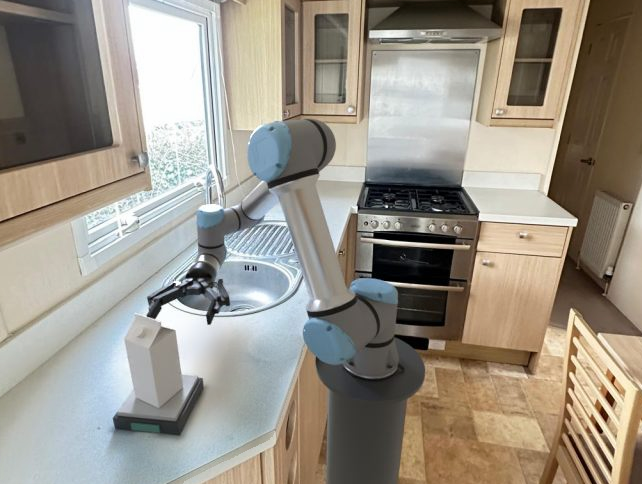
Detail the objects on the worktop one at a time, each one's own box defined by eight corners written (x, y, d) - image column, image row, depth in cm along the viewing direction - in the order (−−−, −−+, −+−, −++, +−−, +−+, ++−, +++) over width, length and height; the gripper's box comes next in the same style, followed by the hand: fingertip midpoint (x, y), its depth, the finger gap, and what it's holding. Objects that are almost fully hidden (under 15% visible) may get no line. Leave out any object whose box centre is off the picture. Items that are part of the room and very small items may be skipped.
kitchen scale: (203, 387, 95) (202, 374, 94) (178, 437, 82) (176, 422, 81) (147, 383, 97) (144, 369, 96) (113, 430, 84) (110, 415, 82)
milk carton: (160, 377, 93) (148, 305, 86) (183, 387, 90) (173, 313, 83) (135, 397, 87) (120, 321, 80) (159, 409, 84) (146, 330, 77)
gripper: (249, 285, 113) (234, 333, 93) (160, 285, 114) (128, 333, 94) (246, 261, 109) (231, 305, 90) (155, 261, 110) (121, 306, 91)
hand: (178, 320), depth 92 cm, fingers open, 13 cm apart
